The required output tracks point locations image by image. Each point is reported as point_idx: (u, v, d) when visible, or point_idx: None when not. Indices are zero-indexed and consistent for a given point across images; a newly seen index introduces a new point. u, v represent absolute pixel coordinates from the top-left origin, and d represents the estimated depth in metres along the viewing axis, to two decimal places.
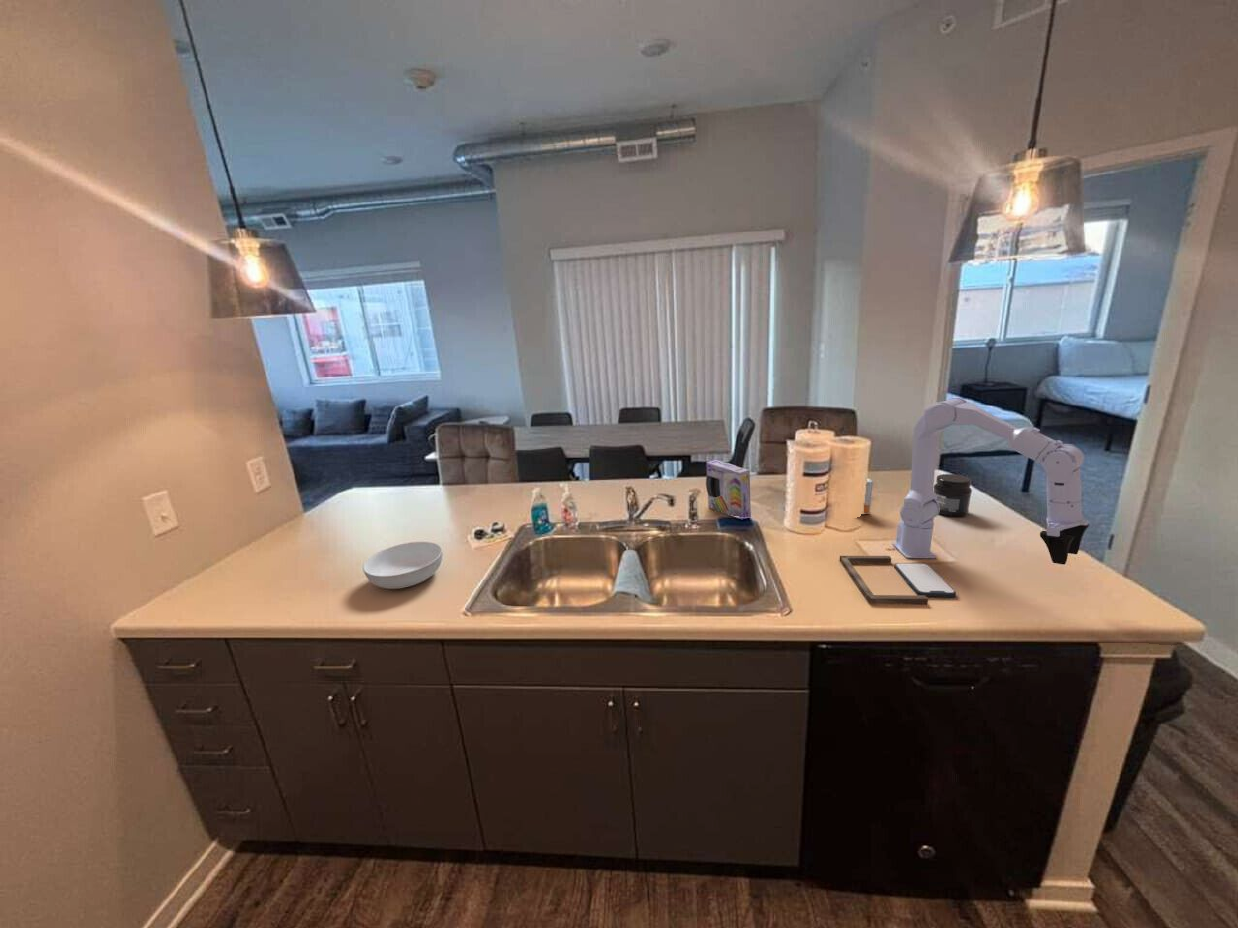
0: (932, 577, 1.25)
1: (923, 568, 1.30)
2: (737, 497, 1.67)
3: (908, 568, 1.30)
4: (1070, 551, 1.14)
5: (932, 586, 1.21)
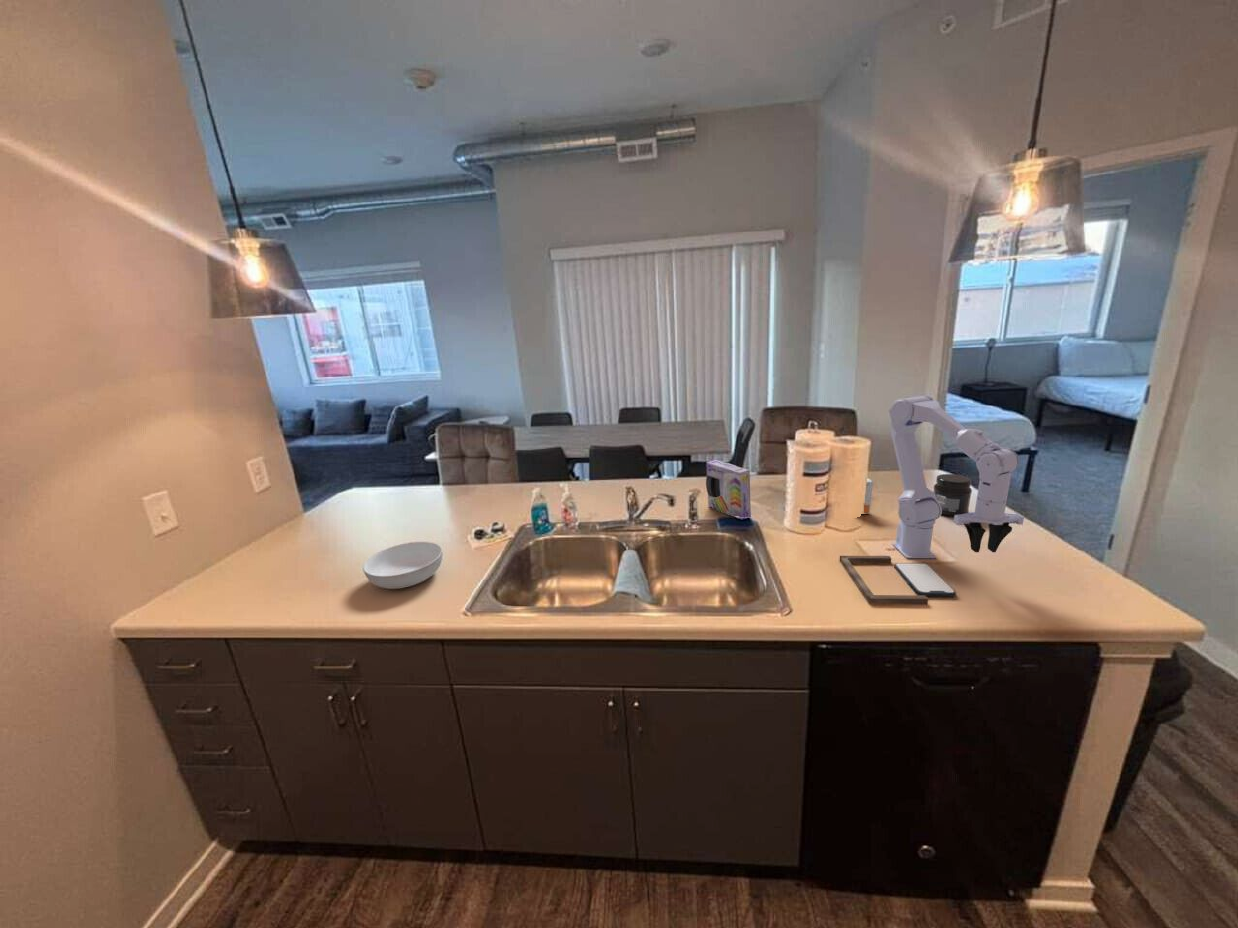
0: (932, 577, 1.25)
1: (923, 568, 1.30)
2: (737, 497, 1.67)
3: (908, 568, 1.30)
4: (990, 548, 1.22)
5: (932, 586, 1.21)
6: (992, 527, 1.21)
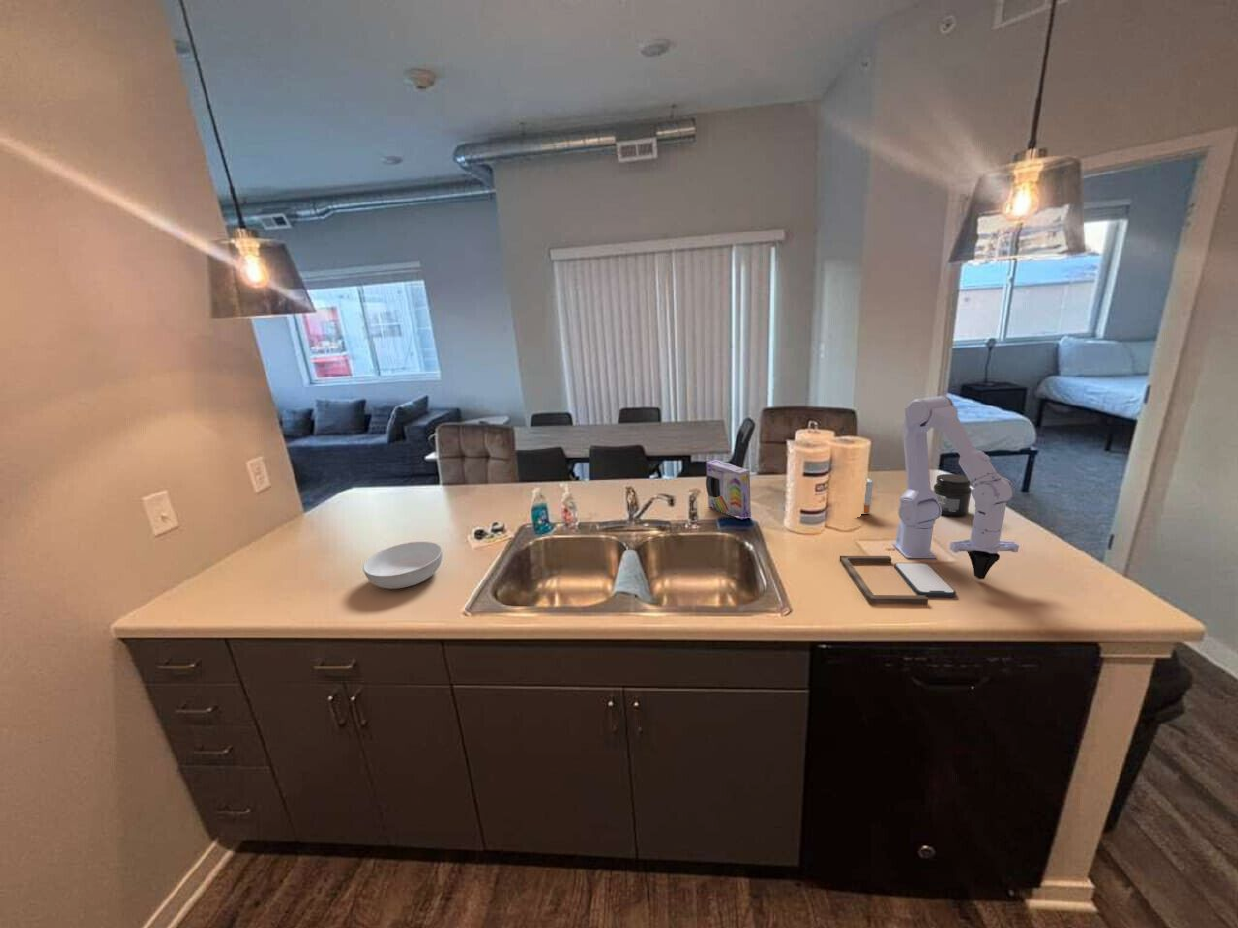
0: (932, 577, 1.25)
1: (923, 568, 1.30)
2: (737, 497, 1.67)
3: (908, 568, 1.30)
4: None
5: (932, 586, 1.21)
6: None
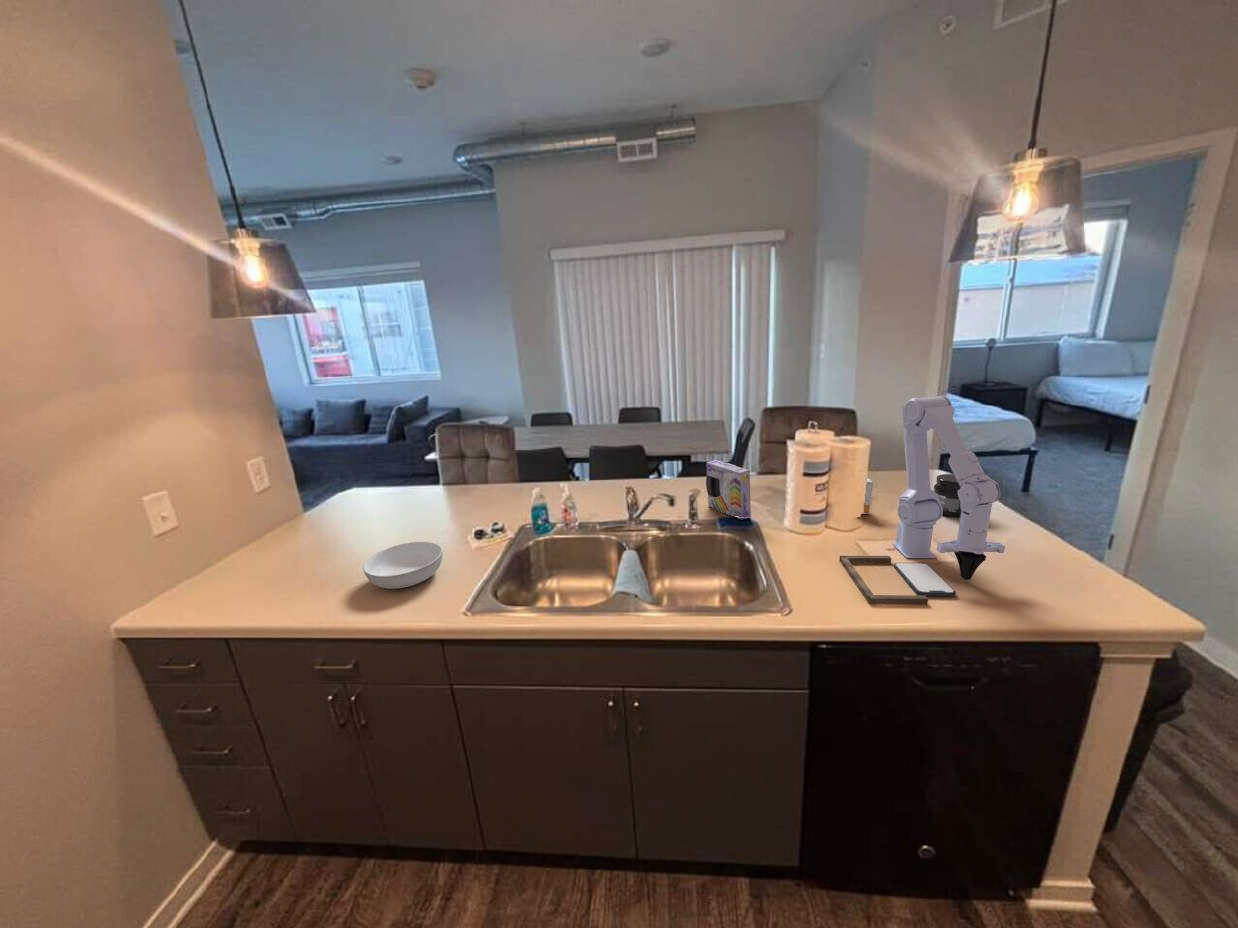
0: (932, 577, 1.25)
1: (922, 568, 1.30)
2: (737, 497, 1.67)
3: (908, 568, 1.30)
4: None
5: (932, 586, 1.21)
6: None
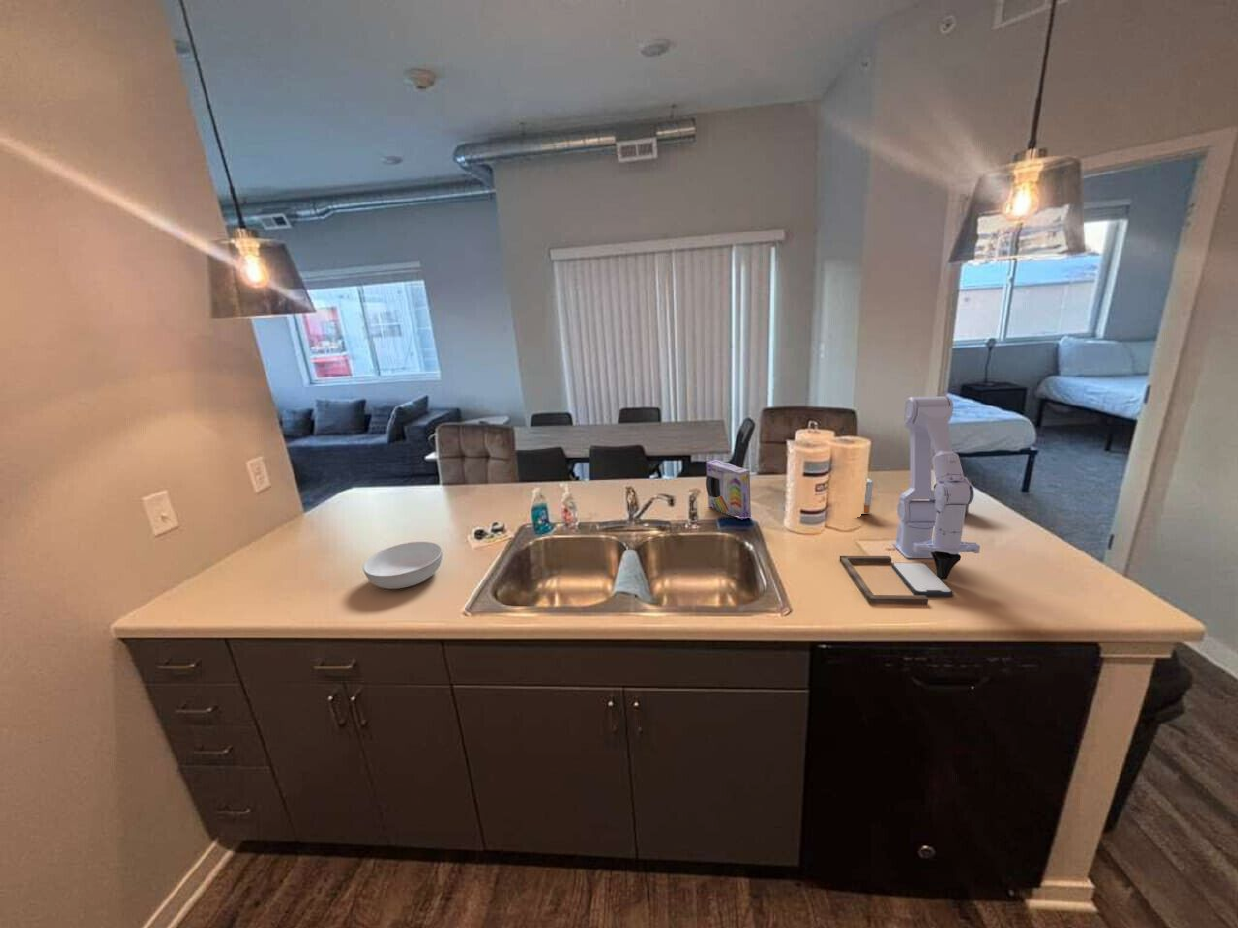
0: (929, 577, 1.25)
1: (920, 568, 1.30)
2: (737, 497, 1.67)
3: (906, 568, 1.31)
4: None
5: (929, 585, 1.21)
6: None
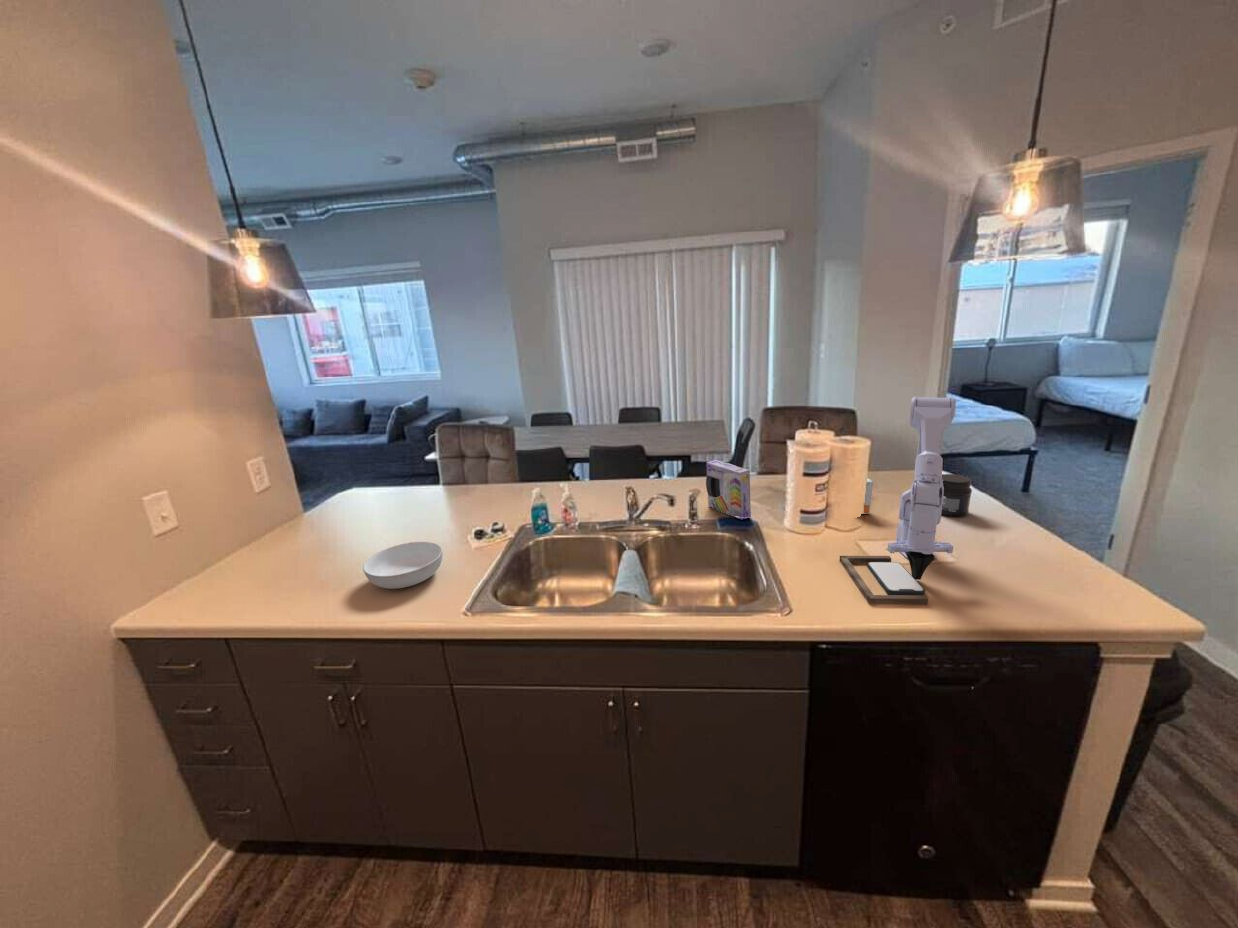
0: (903, 576, 1.26)
1: (895, 567, 1.31)
2: (737, 497, 1.67)
3: (881, 567, 1.32)
4: None
5: (902, 584, 1.22)
6: None
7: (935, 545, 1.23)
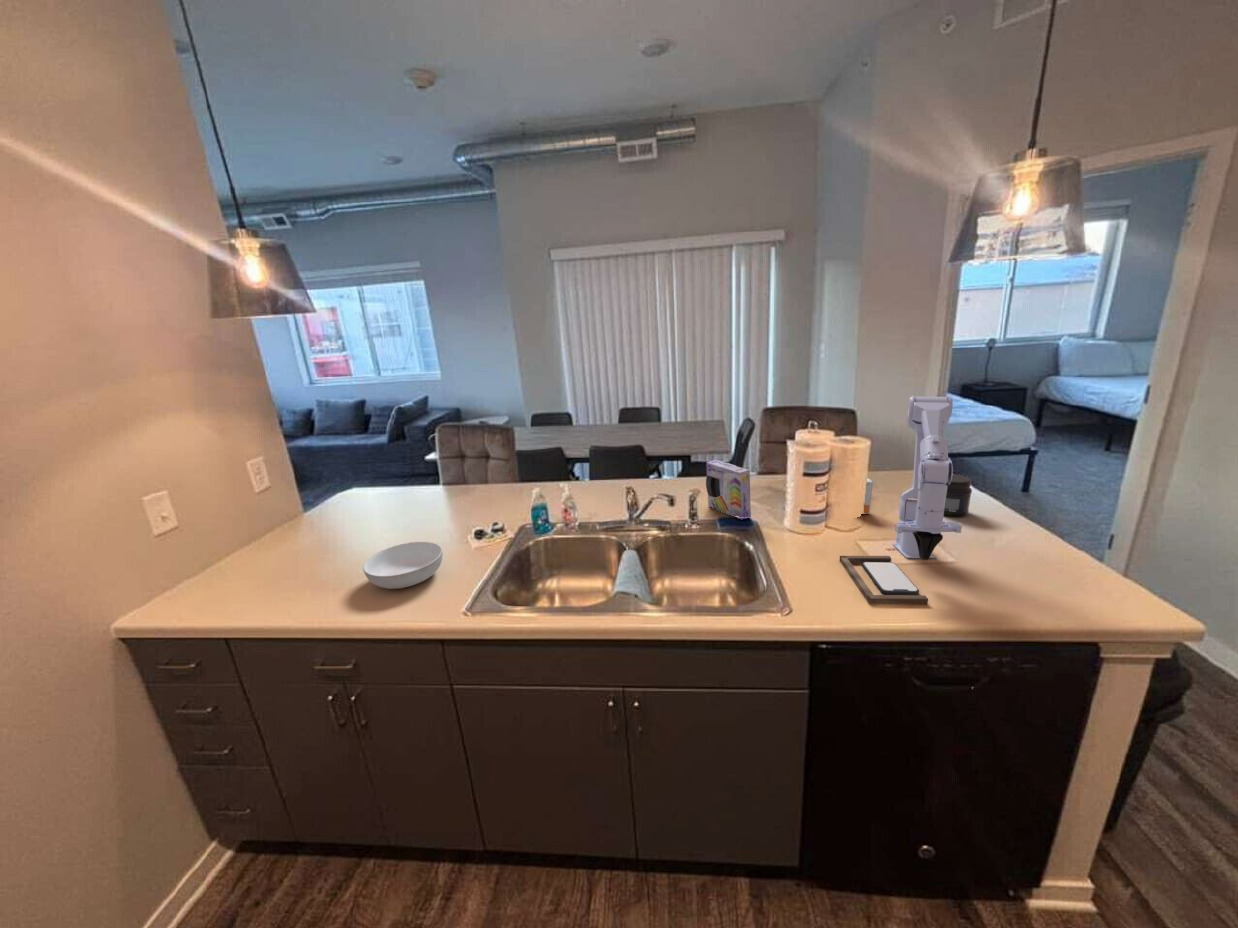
0: (897, 576, 1.27)
1: (889, 567, 1.31)
2: (737, 497, 1.67)
3: (875, 567, 1.32)
4: None
5: (896, 584, 1.23)
6: None
7: (943, 525, 1.21)
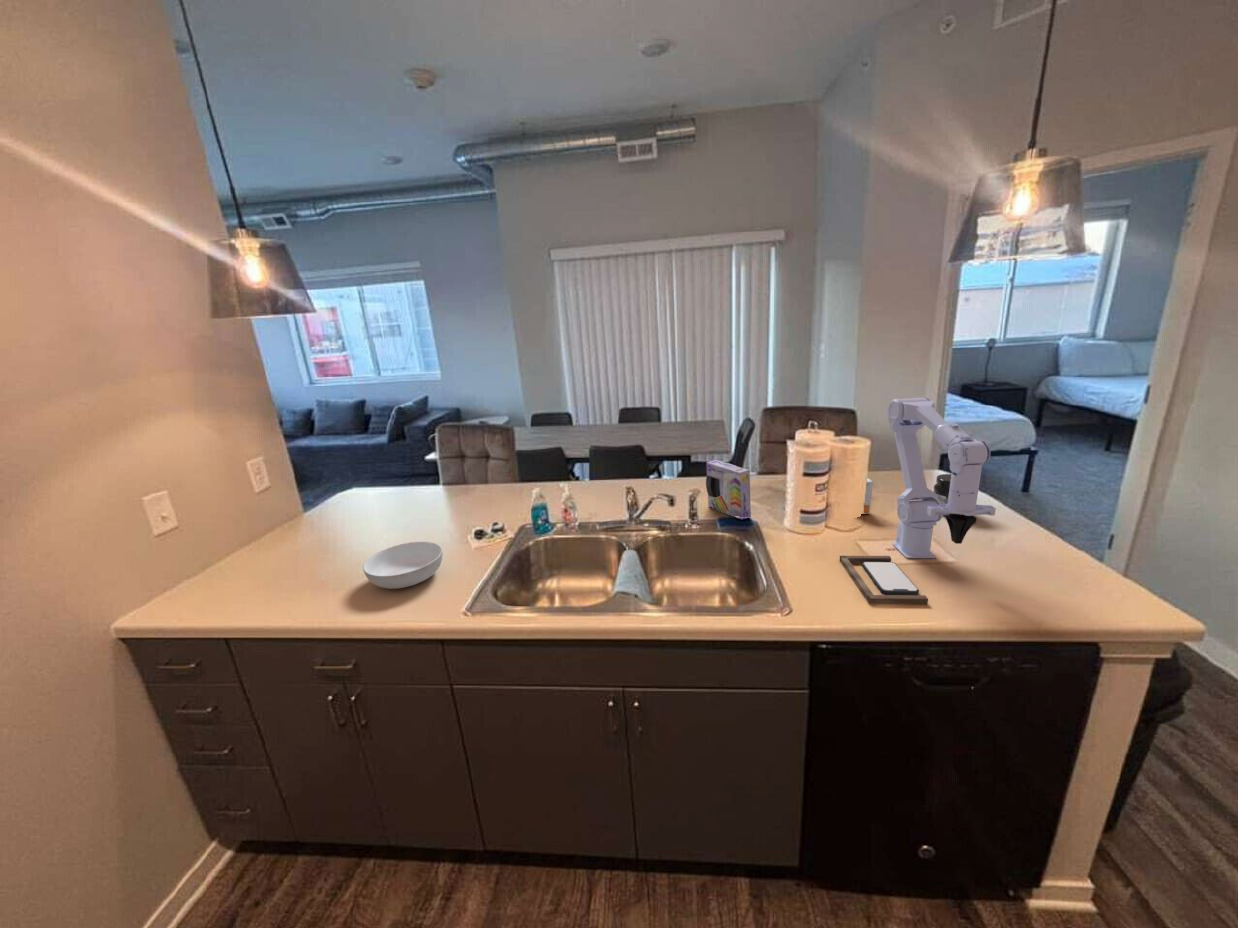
0: (897, 576, 1.27)
1: (889, 567, 1.31)
2: (737, 497, 1.67)
3: (875, 567, 1.32)
4: None
5: (896, 584, 1.23)
6: None
7: (976, 507, 1.20)
